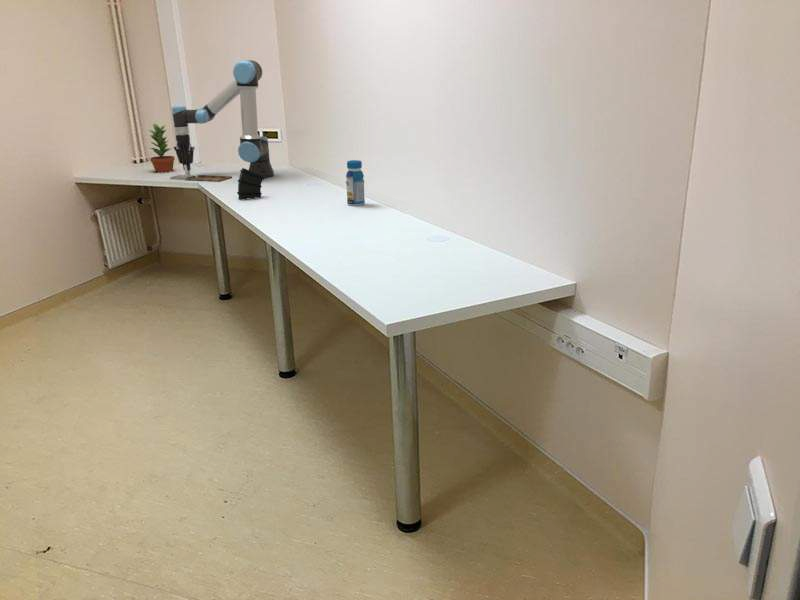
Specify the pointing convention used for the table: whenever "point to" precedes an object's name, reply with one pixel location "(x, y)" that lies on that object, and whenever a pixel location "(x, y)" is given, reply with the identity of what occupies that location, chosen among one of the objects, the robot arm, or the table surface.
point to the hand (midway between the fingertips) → (188, 175)
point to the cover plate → (182, 177)
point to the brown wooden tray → (209, 178)
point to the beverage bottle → (355, 183)
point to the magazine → (249, 184)
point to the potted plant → (161, 151)
